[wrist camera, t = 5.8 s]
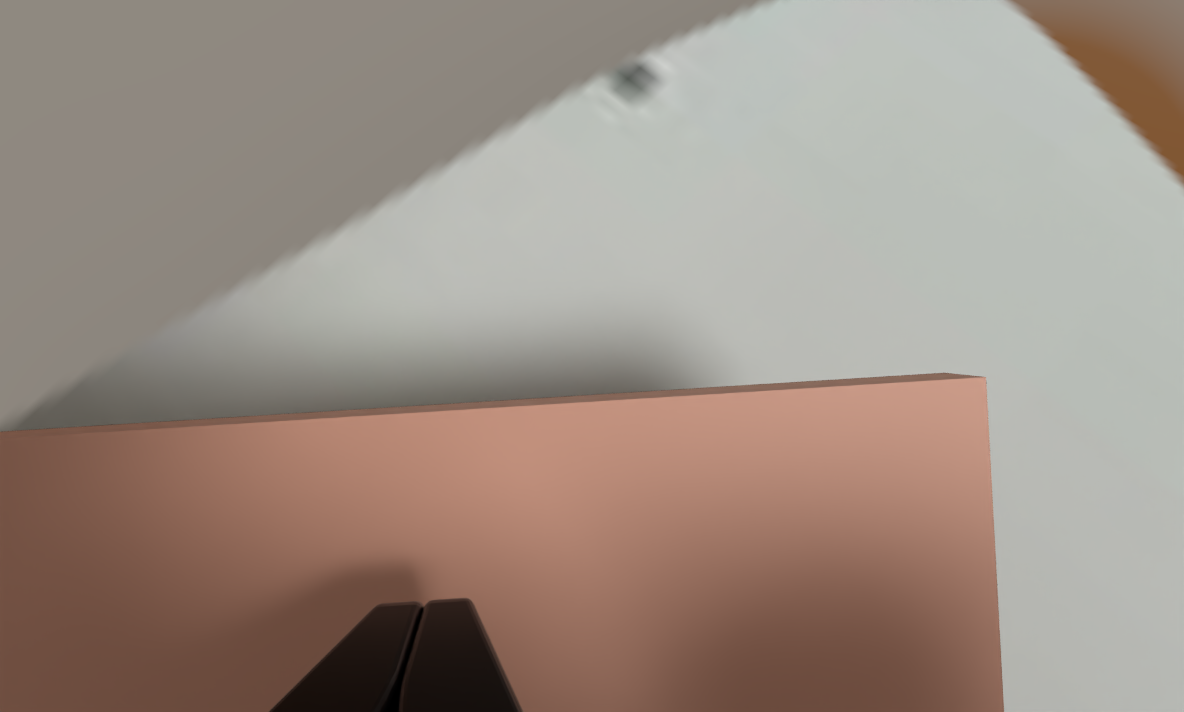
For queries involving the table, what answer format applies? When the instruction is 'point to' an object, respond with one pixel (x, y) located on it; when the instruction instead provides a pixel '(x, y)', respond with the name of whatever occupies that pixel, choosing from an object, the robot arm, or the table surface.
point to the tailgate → (520, 549)
